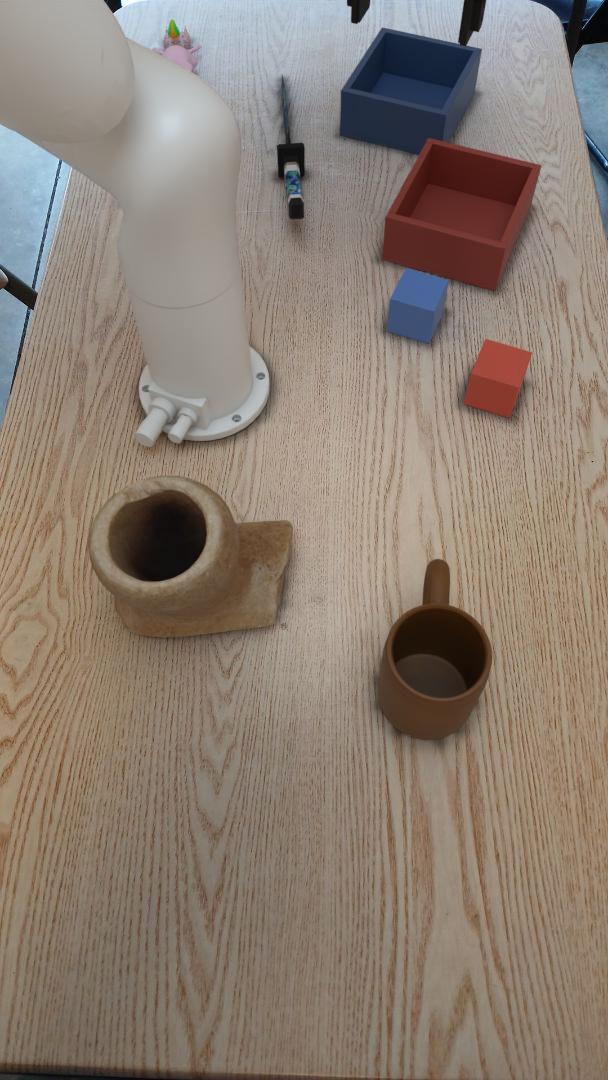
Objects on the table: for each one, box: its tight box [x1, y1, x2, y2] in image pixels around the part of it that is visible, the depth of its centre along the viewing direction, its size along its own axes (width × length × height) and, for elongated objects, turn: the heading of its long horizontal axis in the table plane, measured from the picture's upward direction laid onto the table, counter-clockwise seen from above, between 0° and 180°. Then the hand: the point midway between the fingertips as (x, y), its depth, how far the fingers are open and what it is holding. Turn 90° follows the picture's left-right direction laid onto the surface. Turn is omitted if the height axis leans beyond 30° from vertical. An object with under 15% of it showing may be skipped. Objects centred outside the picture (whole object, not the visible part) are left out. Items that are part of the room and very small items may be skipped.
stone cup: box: [87, 475, 294, 638], centre depth 63 cm, size 15×12×15 cm
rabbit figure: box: [151, 19, 202, 73], centre depth 104 cm, size 6×6×15 cm
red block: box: [463, 338, 533, 419], centre depth 78 cm, size 4×4×4 cm
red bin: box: [381, 138, 542, 292], centre depth 88 cm, size 14×13×6 cm
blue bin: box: [339, 27, 483, 155], centre depth 99 cm, size 14×13×6 cm
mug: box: [377, 558, 493, 741], centre depth 62 cm, size 12×8×9 cm, turn 175°
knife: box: [276, 74, 306, 221], centre depth 96 cm, size 31×3×4 cm, turn 1°
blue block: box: [386, 267, 450, 344], centre depth 83 cm, size 4×4×4 cm
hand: (412, 26), depth 72 cm, fingers open, 9 cm apart
